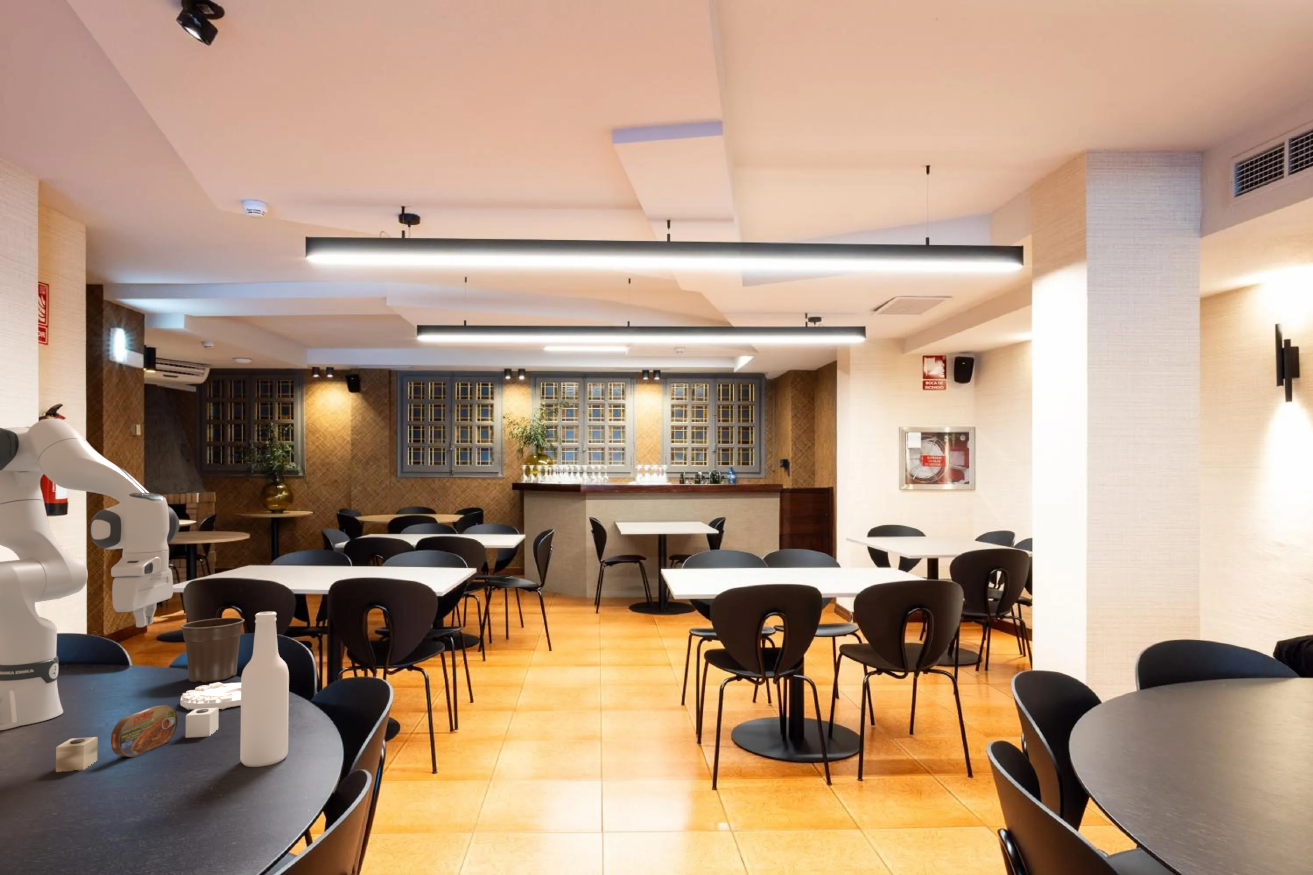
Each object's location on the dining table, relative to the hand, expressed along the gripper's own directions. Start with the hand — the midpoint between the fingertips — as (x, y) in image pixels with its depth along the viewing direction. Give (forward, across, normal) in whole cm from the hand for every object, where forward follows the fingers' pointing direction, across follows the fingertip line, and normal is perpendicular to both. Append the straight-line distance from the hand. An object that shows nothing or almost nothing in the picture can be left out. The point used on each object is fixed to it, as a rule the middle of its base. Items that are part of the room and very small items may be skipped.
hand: (144, 625), depth 175 cm
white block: (+25, -1, +12) cm, 28 cm away
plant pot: (+25, -54, -6) cm, 60 cm away
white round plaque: (+26, -29, +7) cm, 39 cm away
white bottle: (+25, +20, +32) cm, 46 cm away
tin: (+25, +8, +4) cm, 27 cm away
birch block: (+25, +16, -5) cm, 30 cm away
